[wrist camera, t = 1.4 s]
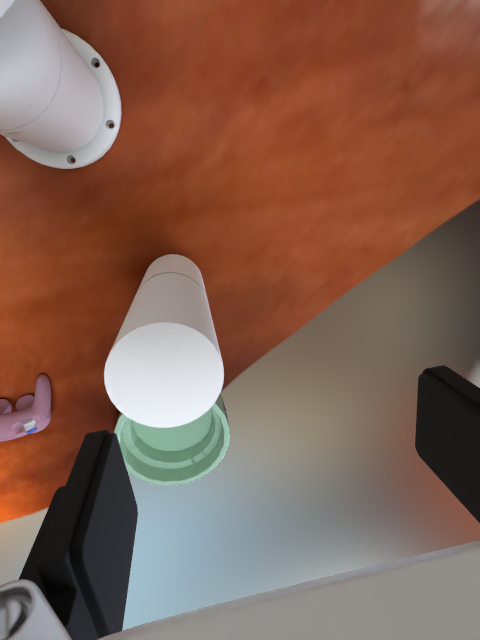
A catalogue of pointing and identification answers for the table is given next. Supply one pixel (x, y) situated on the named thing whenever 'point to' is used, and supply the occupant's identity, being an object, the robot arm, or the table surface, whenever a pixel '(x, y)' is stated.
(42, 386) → the video game controller
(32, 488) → the table surface
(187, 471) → the bowl
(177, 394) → the cylindrical container
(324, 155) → the table surface
